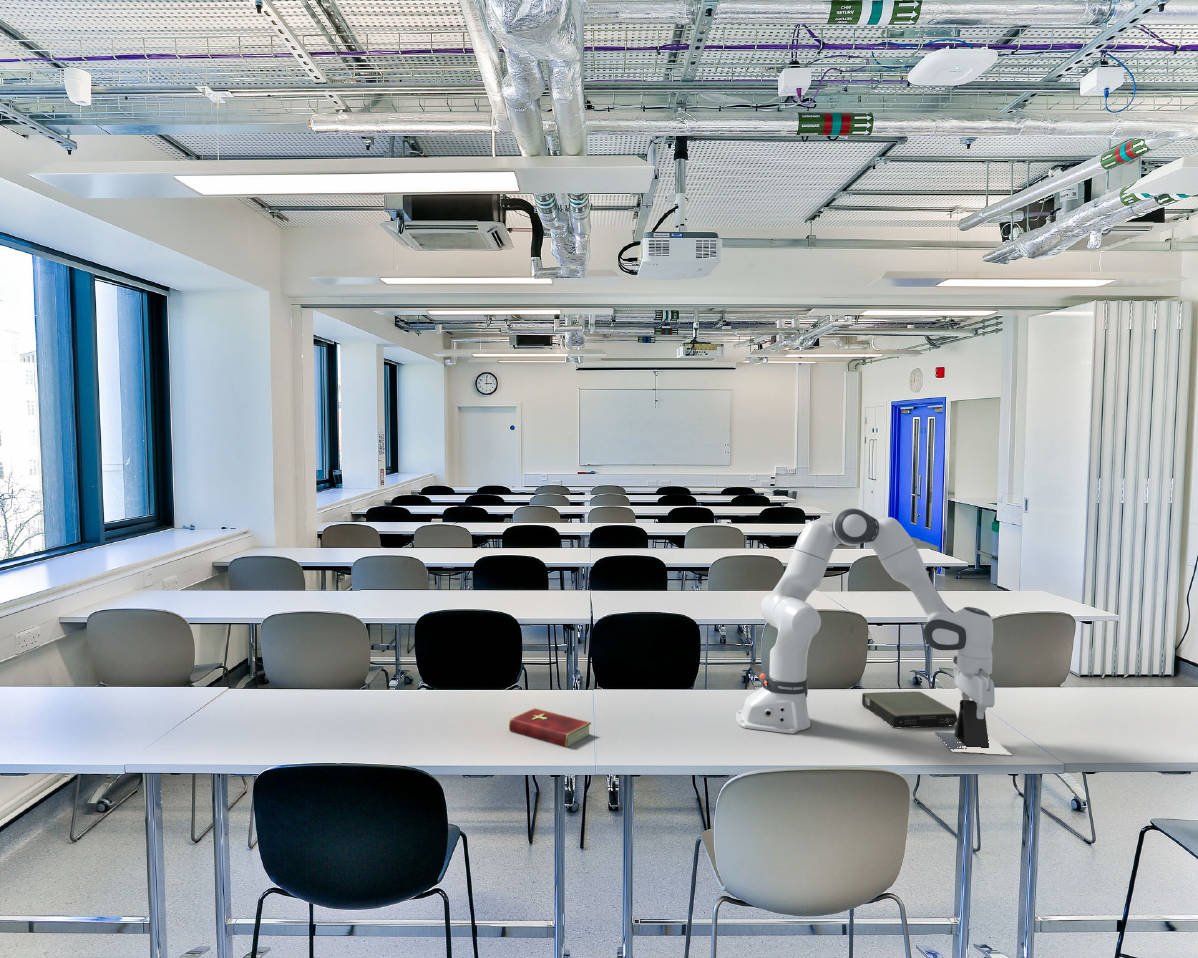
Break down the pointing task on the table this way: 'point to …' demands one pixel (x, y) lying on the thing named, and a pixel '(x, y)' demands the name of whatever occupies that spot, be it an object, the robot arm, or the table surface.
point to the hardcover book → (549, 727)
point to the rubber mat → (950, 740)
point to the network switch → (909, 709)
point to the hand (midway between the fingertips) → (972, 712)
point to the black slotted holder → (971, 726)
